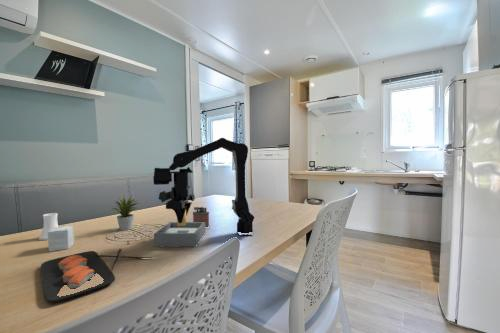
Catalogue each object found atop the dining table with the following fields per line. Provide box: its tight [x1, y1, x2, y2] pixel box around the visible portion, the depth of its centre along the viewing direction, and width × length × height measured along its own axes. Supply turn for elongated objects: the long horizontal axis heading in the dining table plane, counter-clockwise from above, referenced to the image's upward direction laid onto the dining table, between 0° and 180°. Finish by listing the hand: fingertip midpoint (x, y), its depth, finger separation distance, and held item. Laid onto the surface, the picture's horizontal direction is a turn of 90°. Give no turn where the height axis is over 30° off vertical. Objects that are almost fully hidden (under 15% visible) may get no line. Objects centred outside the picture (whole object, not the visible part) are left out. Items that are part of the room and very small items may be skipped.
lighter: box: [192, 206, 210, 227], centre depth 113 cm, size 8×3×10 cm, turn 84°
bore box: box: [153, 221, 206, 247], centre depth 96 cm, size 16×16×5 cm
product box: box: [47, 225, 75, 252], centre depth 88 cm, size 6×6×7 cm
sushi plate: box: [40, 248, 151, 303], centre depth 73 cm, size 29×30×4 cm
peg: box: [176, 211, 187, 226], centre depth 96 cm, size 4×4×6 cm
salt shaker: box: [38, 212, 59, 241], centre depth 99 cm, size 8×8×10 cm
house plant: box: [111, 194, 143, 231], centre depth 110 cm, size 14×14×16 cm
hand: (181, 221), depth 96 cm, fingers closed on peg, 4 cm apart
